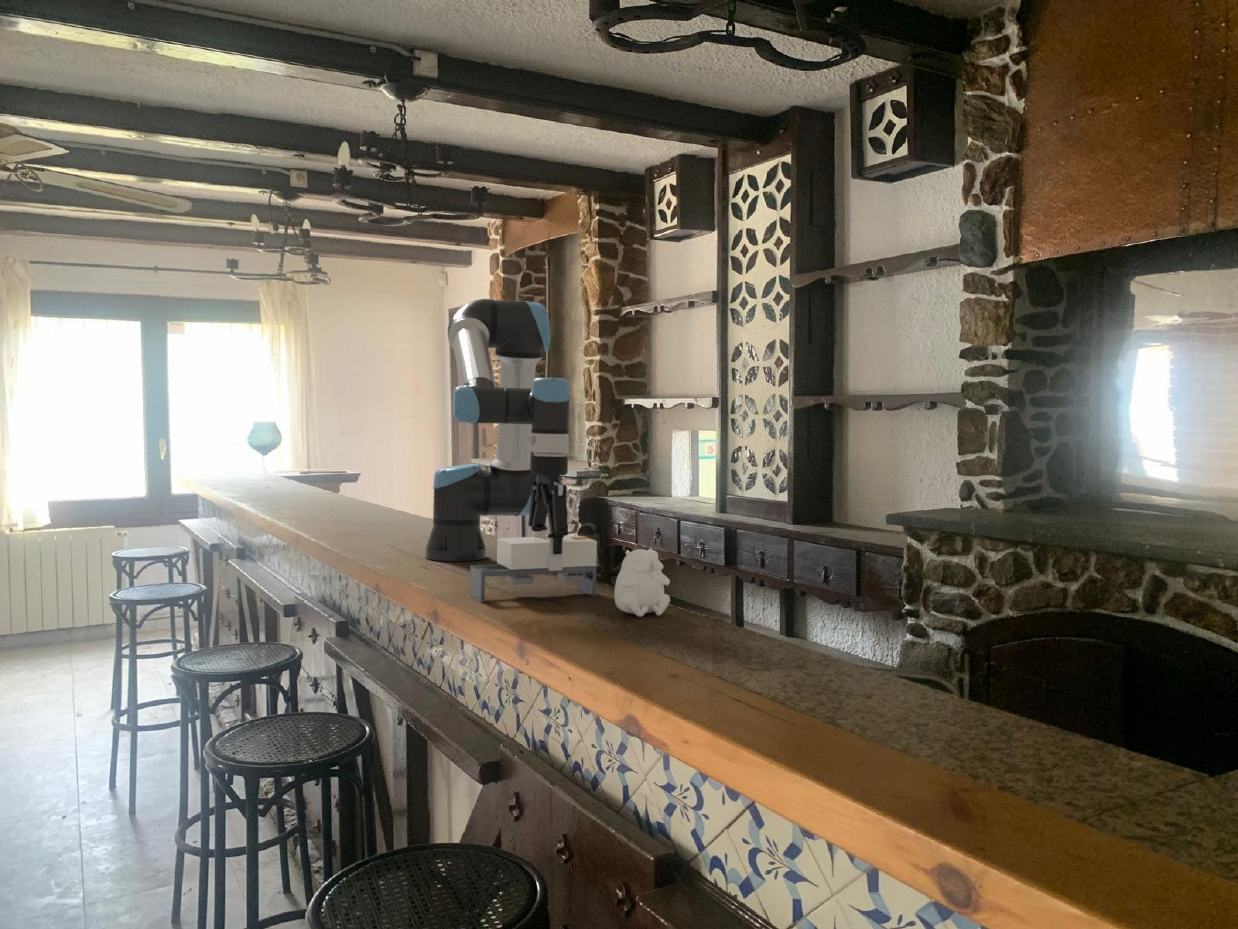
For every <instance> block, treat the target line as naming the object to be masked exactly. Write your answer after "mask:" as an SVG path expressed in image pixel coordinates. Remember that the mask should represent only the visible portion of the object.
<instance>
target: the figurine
mask: <svg viewBox="0 0 1238 929" xmlns="http://www.w3.org/2000/svg"><path fill="white" fill-rule="evenodd" d="M624 553H625V555H626V556H625V557H624V558H623V560H622V563H621V567H620V571H619V572H618V575H617V577H616V581H615V585H614V596H613V597H614V603H615V605H616V607H617V609H618V610H620V611H623V612H624V613H627V614H631V615H632V614H633V615H636V616H637V617H640V618H641V617H643V616H644V615H645V614H650V613H651V612H655V614H656V616H661V615H663V613H664V612H665V610H666V609H667V608H668V606H669V604H670V603H671V597H670V595H669V594H667V593H665V586H666V587H667V586H669V585H670V583H671V581H670V579H669V578H668V577H667V576H666V575H665V574H664V572H662V570H663V569H664V564H663V563H662V562H661V561H660V559H659V553H658V551H656V550H654V549H652V548H651V547H650V548H649V549H639V548H638V549H635V550H632V551H630V550H629V549H627V550H626V551H625V552H624Z"/></svg>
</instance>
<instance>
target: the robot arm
mask: <svg viewBox="0 0 1238 929" xmlns="http://www.w3.org/2000/svg"><path fill="white" fill-rule="evenodd" d="M550 324H551V323H550V319H549V314H548V310H547V308H546V307H545V306H544V305H543V304H542V303H539V302H535V301H529V300H508V299H507V300H503V299H490V298H481V299H476V300H473V301H472V300H471V301H470V302H468V303H466V304H464V305H463V306H462V307H460V308H459V309H458V310H457V311H455V313H454V314H453V315H452V317H451V319H450V320H449V323H448V325H447V338H448V343H449V345H450V348H452V349H453V351H454V357H455V363H456V368H457V369H456V371H457V377H458V383H459V386H456V387H454V388H453V391H452V403H451V404H452V407H451V408H452V418H453V419H454V421H456V422H458V423H467V424H470V425H471V424H473V425H474V424H497V440H496V441H497V442H496V455H495V457H494V458H493V459H492V460H491V461H490V464H489V469H483V468H482V465H481V464H480V463H474V464H473V463H471V464H469V463H468V464H458V465H452V466H451V465H450V466H445V467H440V468H439V469H437V470H436V471H435V472H434V475H433V486H432V489H433V506H432V507H433V509H432V510H433V512H432V527H431V528H432V529H431V532H430V535H429V538H428V541H427V542H426V543H427V544H426V546H425V548H424V549H425V550H424V551H425V553H424V554H425V556H424V557H425V558H426V559H427V560H433V561H442V562H469V561H471V562H472V561H479V560H484V559H485V558H487V546H486V543H485V540H484V536H483V533H482V530H481V517H482V516H484V517H486V516H488V517H489V516H490V517H491V516H493V517H495V516H496V517H497V516H500V517H501V516H503V517H505V516H506V517H507V516H512V517H520V516H528V527H531V531H532V532H531V533H532V536H531V537H548V538H549V552H548V570H549V571H557V570H562V560H563V538H564V536H569V535H568V534H569V525H568V524H569V523H568V510H567V509H568V508H567V507H568V506H567V505H568V504H567V489H568V488H567V485H566V484H561V480H560V477H561V476H565V475H567V474H568V469H569V468H568V467H569V466H568V464H569V458H568V456H566V455H567V454H568V453H569V448H570V446H569V442H570V435H569V434H570V433H569V430H570V429H569V427H570V426H569V424H570V420H569V419H570V398H571V394H570V392H571V390H570V382H569V380H568V379H566V378H564V377H536V366H537V363H538V362H540V361H542V359H543V354H544V352H546V351H549V350H550V347H551V326H550ZM489 348H491V349H495V350H494V355H495V357H496V358H497V359H498V360H499V362H500V378H499V380H500V381H499V387H497V386H496V381H495V376H494V371H493V367H492V360H491V357H490V351H489ZM531 453H532V454H533V455H532V454H531ZM547 517H548V524H549V532H550V533H549V534H548V535H547V531H548V528H547V525H546V522H547Z"/></svg>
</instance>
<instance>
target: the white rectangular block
mask: <svg viewBox="0 0 1238 929" xmlns="http://www.w3.org/2000/svg"><path fill="white" fill-rule="evenodd" d="M496 539H497V540H496V542H497V544H496V564H501V565H503V566H504V567H506V568H508V569H507V570H514V569H536V568H548V552H549V538H548V536H546V537H532V536H523V537H522V536H521V537H497V538H496ZM597 543H598V541H597V540H595V539H592V538H589V537H588V536H584V535H583V536H582V535H565V536H564V538H563V560H562V567H581V566H597V550H598V549H597V548H598V544H597ZM505 579H506V580H505V582H507V583H509V584H511V585H514V586H515V585H516V586H517V585H531V584H533V585H534V584H535V577H534V576H532V575H531V574H528V575H506V578H505ZM557 579H558V580H560V581H563V582H564V583H571V582H572V583H573V582H574V583H575V582H578V581H586V575H584V574H582V573H579V572H570V573H557Z"/></svg>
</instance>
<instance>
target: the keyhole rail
mask: <svg viewBox="0 0 1238 929" xmlns="http://www.w3.org/2000/svg"><path fill="white" fill-rule="evenodd" d="M469 569H470V571H469V572H470V573H469V574H470V576H469V578H470V579H469V582H470V583H469V596H470V597H472V598H473V599H475V600H476V601H478V602H479V603H485V601H486V577H502V576H506V575H542V574H543V575H545V574H548V575H549V574H558V573H570V572H579V573H582V574H584V575H586V581H577V590H579V591H580V592H583V593H584V594H588V595H589V596H591V597H596V596H597V595H596V594H597V565H596V566H581V567H562V570H557V571H549V570H548V568H536V569H514V570H510V569H508V568H506V567H504V566H503V565H501V564H499V563H495V564H472V565H471V564H470V568H469Z"/></svg>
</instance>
